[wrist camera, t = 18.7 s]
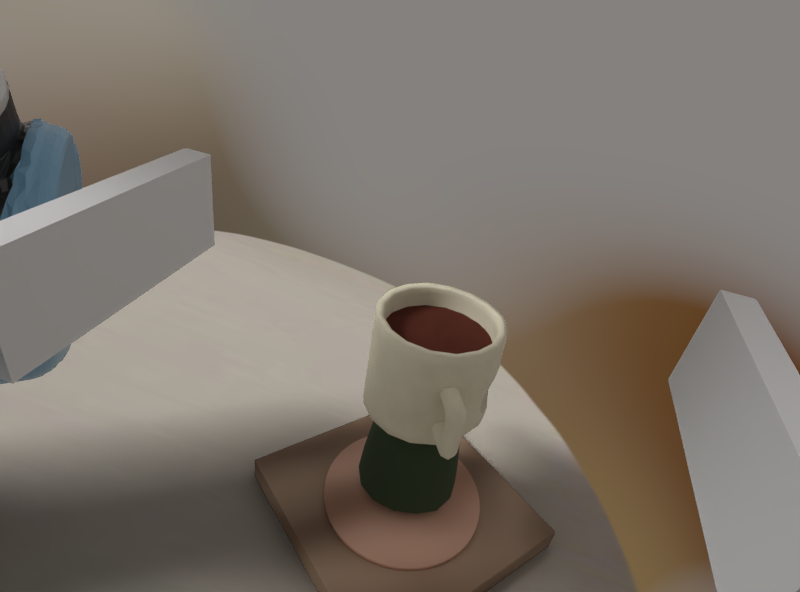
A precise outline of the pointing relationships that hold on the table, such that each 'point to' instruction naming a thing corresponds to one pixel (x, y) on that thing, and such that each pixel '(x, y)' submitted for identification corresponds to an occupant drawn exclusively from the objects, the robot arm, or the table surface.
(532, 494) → the table surface
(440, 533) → the walnut board
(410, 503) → the character mug
